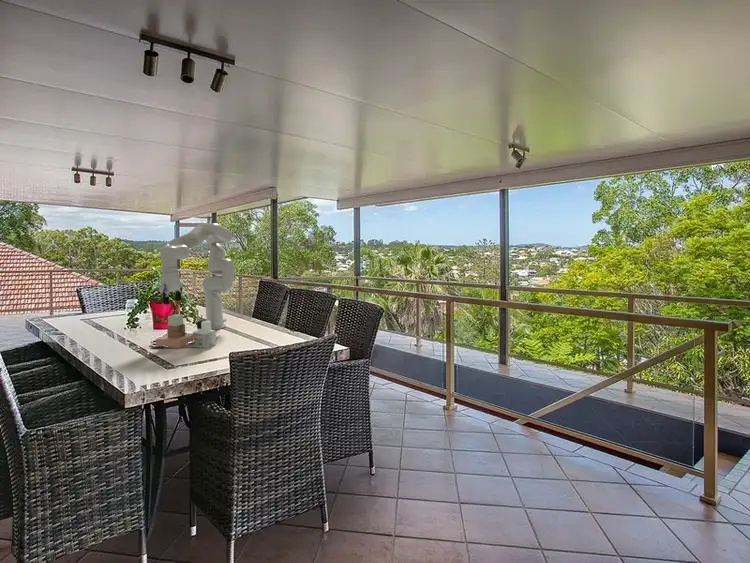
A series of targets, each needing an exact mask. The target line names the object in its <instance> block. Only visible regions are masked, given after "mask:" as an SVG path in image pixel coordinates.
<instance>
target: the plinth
mask: <svg viewBox="0 0 750 563" xmlns="http://www.w3.org/2000/svg"><path fill="white" fill-rule="evenodd" d="M190 341H193V333H186V332H185V336H182V337H179V338H168V334H167V335H162V336H160V337H158V338H155V346H156V345H165V346H168V347H167V348H174V349H181V348H183V347H186V346H187V345H186V343H188V342H190ZM185 345H186V346H185Z"/></svg>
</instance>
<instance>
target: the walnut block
mask: <svg viewBox="0 0 750 563" xmlns="http://www.w3.org/2000/svg"><path fill="white" fill-rule="evenodd" d="M166 329H167V330H166V331H167V335H168V338H179V337H182V336H185V333H186V324H184V323H183V325H179V326H168V325H167V326H166Z"/></svg>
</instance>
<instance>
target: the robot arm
mask: <svg viewBox="0 0 750 563" xmlns="http://www.w3.org/2000/svg"><path fill="white" fill-rule="evenodd" d="M232 240H233V233H232V232H231V230H230V229H228V228H227V227H225V226H223V225H220V224H219V223H216V222H215V223H214V222H213V223H212V222H211V223H209V222H208V223H207V222H206V223H199V224H197V225H196V227H194V228H193V229H192V230H190V231H189V232H188V233H186V234H183V235H181V236H178V237H175V238H173V239H172V240H169V241H168V242H167V243H166V244H164V246H161V247H160V249H159V254H160V264H161V266H160V267H161V274H160V287H159V288H158V291H159V293H160V296H161V297H162V303H163V305H169V304H170V297H169V294H170V293H172V292H175V293H174V295H175V301H176V302H177V301H179V302H181V301H182V294H183V293H182V292H183V291H182V290H183V286H184V285H183V283H181V279H180V275H179V269H178V260H184V259H187V258H189V256H190V255H191V250H190V249H192V248H195V247H196V248H197V247H198V246H199V245H200V244H202V243H203V242H204V241H205V242H206V244H207V245H208V247H209V258H208V263H207V271H208V273H209V274H212V275H209V276H206V277H205V278H203V280H202V283H201V284H202V289H203V293H204V300H205V301H204V302H205V303H204V304H205V320H209V321H210V322H211V329H210V330H219V329H224V328H226V326H227V324H226V322H228V321H227V318H224V316H223V314H224V313H223V298H222V295H221V293H228V292H230V291H231V290H232V289H233V288H232V287H233V282H234V277H235V271H236V270H235V268H236V267H235V263H234V261H233V259H230V258H225V248H224V247H223V246H222V245H221V244H228V243H230V242H232Z"/></svg>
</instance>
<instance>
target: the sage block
mask: <svg viewBox="0 0 750 563" xmlns="http://www.w3.org/2000/svg"><path fill="white" fill-rule="evenodd" d="M167 320H168V321H167V326H179V325H183V324H184V315H183V314H172V315H171V314H170V315H168V316H167Z"/></svg>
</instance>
